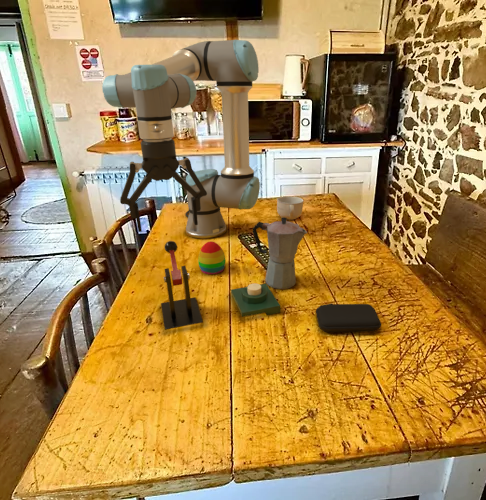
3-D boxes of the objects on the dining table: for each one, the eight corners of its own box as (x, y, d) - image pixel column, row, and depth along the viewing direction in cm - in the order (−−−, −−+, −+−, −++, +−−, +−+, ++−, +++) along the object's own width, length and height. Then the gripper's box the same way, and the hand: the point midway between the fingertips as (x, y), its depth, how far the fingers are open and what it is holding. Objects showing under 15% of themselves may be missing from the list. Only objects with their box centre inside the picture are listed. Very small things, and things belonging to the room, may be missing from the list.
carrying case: (371, 308, 101) (314, 310, 101) (372, 298, 100) (314, 299, 100) (382, 334, 92) (319, 335, 92) (384, 323, 90) (319, 324, 90)
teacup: (278, 212, 170) (278, 194, 167) (303, 213, 169) (304, 195, 166) (274, 224, 158) (274, 205, 154) (301, 225, 156) (302, 205, 153)
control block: (231, 296, 108) (230, 283, 106) (266, 290, 111) (265, 277, 109) (242, 320, 98) (241, 306, 96) (280, 312, 100) (280, 299, 99)
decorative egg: (231, 272, 121) (229, 242, 116) (208, 281, 116) (205, 250, 112) (217, 263, 126) (215, 234, 122) (194, 271, 122) (191, 241, 118)
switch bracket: (161, 306, 104) (154, 263, 98) (195, 300, 106) (191, 257, 101) (165, 333, 93) (158, 286, 88) (203, 325, 96) (198, 279, 90)
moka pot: (303, 293, 109) (305, 225, 101) (249, 288, 112) (246, 221, 104) (307, 276, 118) (309, 213, 109) (257, 272, 120) (255, 210, 112)
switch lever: (164, 247, 103) (163, 239, 101) (176, 245, 104) (176, 237, 101) (171, 287, 95) (170, 279, 93) (184, 285, 96) (184, 277, 94)
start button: (246, 290, 104) (245, 284, 103) (259, 288, 105) (258, 282, 104) (249, 297, 101) (249, 291, 100) (263, 294, 102) (263, 288, 101)
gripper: (97, 145, 83) (115, 238, 92) (214, 138, 90) (220, 225, 99) (99, 140, 90) (115, 227, 98) (208, 134, 97) (214, 216, 105)
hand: (168, 226), depth 99 cm, fingers open, 13 cm apart
